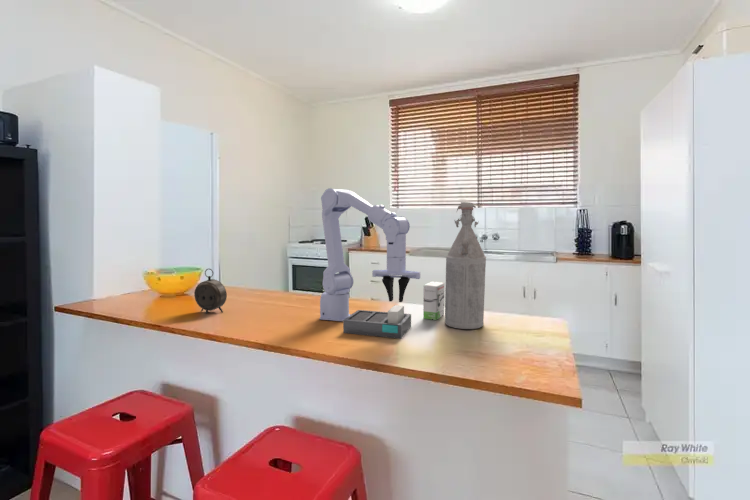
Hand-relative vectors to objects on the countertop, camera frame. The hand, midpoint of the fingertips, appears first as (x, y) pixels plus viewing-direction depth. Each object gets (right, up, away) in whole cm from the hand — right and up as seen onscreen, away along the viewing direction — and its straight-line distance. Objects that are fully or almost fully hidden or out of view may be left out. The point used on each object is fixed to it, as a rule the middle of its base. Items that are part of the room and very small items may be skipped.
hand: (396, 301), depth 119 cm
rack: (-5, -9, +3) cm, 11 cm away
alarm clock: (-66, -8, +24) cm, 71 cm away
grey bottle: (+23, -9, +9) cm, 26 cm away
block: (0, -8, +1) cm, 8 cm away
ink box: (+14, -8, +18) cm, 24 cm away
